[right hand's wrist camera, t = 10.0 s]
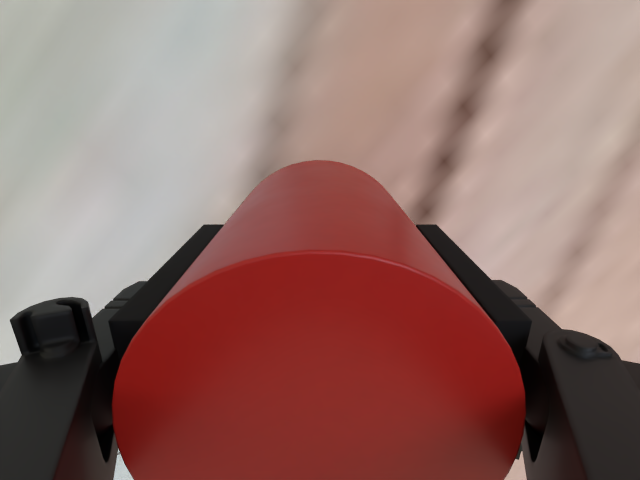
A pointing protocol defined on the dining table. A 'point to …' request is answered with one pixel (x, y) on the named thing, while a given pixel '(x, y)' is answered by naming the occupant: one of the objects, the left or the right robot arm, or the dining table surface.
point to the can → (318, 350)
